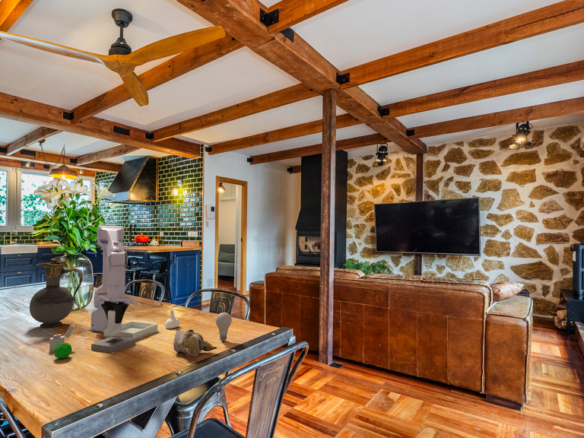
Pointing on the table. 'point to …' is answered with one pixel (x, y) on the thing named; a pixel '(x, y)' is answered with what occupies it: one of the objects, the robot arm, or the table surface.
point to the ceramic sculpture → (191, 343)
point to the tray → (134, 330)
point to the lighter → (59, 338)
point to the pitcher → (53, 296)
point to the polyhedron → (62, 350)
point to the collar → (113, 344)
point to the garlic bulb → (172, 321)
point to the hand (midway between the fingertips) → (114, 322)
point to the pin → (113, 323)
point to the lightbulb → (223, 324)
